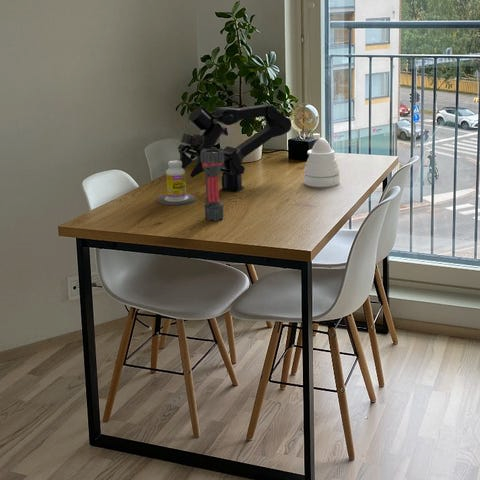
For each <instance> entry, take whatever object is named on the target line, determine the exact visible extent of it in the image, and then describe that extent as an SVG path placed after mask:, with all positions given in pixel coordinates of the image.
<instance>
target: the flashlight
mask: <svg viewBox="0 0 480 480" xmlns="http://www.w3.org/2000/svg"><path fill="white" fill-rule="evenodd" d="M200 161H201V162H202V167H203V169H204V171H203V172H204V174H205V190H206V191H205V193H206V196H205V197H206V203H205V204H204V217H205V219H206V220H207V221H209V222H210V220H211V221H215V222H218V221H220V220H223V219H224V205H223V204H222V202H221V201H220V200H221V199H220V186H219V173H220V170H221V168H222V165H223V162H224V148H223V147H220V148H217V146H216V147H211V149H206V148H204V149H202V151H201V159H200Z"/></svg>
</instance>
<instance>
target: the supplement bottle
mask: <svg viewBox="0 0 480 480" xmlns="http://www.w3.org/2000/svg"><path fill="white" fill-rule="evenodd" d="M167 166H168V169H166V171H165V177H166V178H165V179H166V181H165V182H166V195H167V197H168V199H171V200H180V199H184V198H185V197H186V194H187V187H186V186H187V185H186V181H187V180H186V170H185V168H184V169H183V168H182V167H181V166H182V161H180V160H170V161H168V165H167Z"/></svg>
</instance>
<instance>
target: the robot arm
mask: <svg viewBox="0 0 480 480" xmlns="http://www.w3.org/2000/svg"><path fill="white" fill-rule="evenodd" d="M261 117H263V118H264V120H265V122H266V123H265V125H264V127H263V128H262V129H260V130H259V131H257V132H256V133H254V134H253V135H252V136H250V137H249V138H248V139H246V140H244V141H243V142H241V143H240V144H239V145H237V146H236V147H232V146H226V147H224V148H223V150H224V162H223V165H222V168H221V170H220V171H219V173H220V172H221V174H222V176H221V188H220V191H225V192H232V193H233V192H239V191H241V190H242V189H244V188H245V186H244V185H243V181H242V179H243V178H242V177H243V176H242V175H243V174H244V173H245V169H246V168H245V167H244V166H243V165H242V163H243V161H244V159H245V157H247V156H249V155H250V154H251V153H253V152H254V151H256V150H257V149H259V148H260V147H262V146H263V145H265V143H267V142H268V141H270V140H271V139H273V138H276V137H279V136H284V135H285V134H287V133H289V132H290V131H291V129H292V120H291V119H290V118H289V117H286V116H285V115H284V114H283V113H281V112H280V111H279V110H277V109H276V108H275V107H274V106H273V105H272V104H269V103H268V104H267V103H262V104H258V105H252V106H244V107H238V108H235V107H234V108H233V107H226V106H225V107H224V106H223V107H222V106H219V107H216V108H215V110H214V111H211V112H209V111H208V110H207V108H205V106H204V105H199V106H198V107H197V108H195V109H194V110H193V111H191V112H190V114H189V116H188V120H189V121H190V122H191V124H193V125H194V127H195V128H197V129H198V130H199V131H203V132H202V134H197V133H194V134H193V135H191V134H188V133H183V134H182V138H181V141H180V142H181V143H180V144H179V145H178V147H177V150H178V153H179V156H180V157H179V161H182V166H181V167H182V168H183V169H184V170H185V168H187V167H188V166H190V164H192V163H193V162H194V159H197V160H196V161H197V162H196V164H195V165H194V166H193V167H194V168H192V170H191V172H190V174H189V175H190V177H191V178H194V177H196V176H198V175H199V174H201V173H203V172H204V169H203V167H202V162H201V161H200V159H201V151H202V149H204V148H206V149H211V147H216V148H217V145H216V143H217V142H218V141H219V139H220V137H221V136H227V137H228V136H229V132H228V128H227V127H225V126H231V125H234V124H237V123H238V122H240V121H242V120H246V119H247V120H248V119H255V118H261ZM223 125H225V126H223Z"/></svg>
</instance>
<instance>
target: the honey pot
mask: <svg viewBox="0 0 480 480" xmlns="http://www.w3.org/2000/svg"><path fill="white" fill-rule="evenodd" d="M320 135H321V134H320V133H313V134H312V137H313V139H314V140H315V142H314V144H313V146H312V148H311V149H309V150H307V153H306V154H307V155H309V156H308V158H307V159H306V163H305V167H304V169H303V170H304V174H303V179H304V180H303V181H304V182H303V183H304V184H305V185H306V186H309V187H312V188H313V187H315V188H328V187H334V186H337V185H339V184H340V167H339V166H338V162H337V159H336V156H335V153H336V151H335V150H333V149H332V147H331V145H330V143H329V142H328V141H327V140H326V138H324V137H321V136H320Z"/></svg>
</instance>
